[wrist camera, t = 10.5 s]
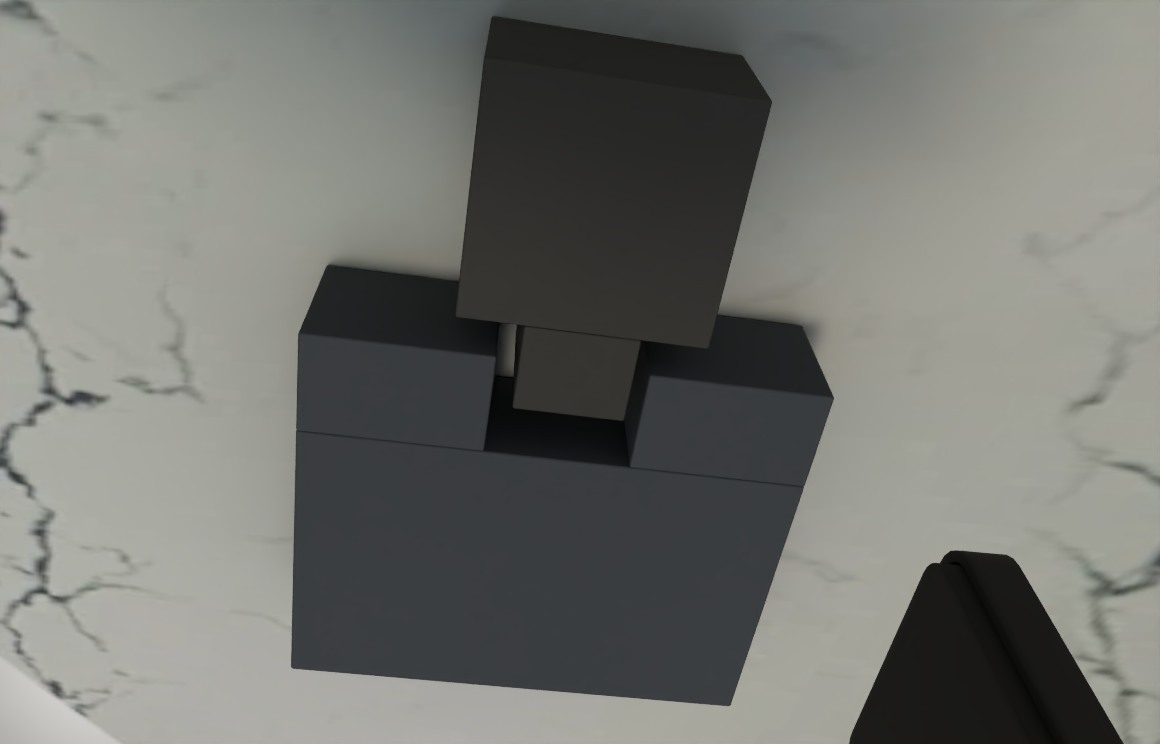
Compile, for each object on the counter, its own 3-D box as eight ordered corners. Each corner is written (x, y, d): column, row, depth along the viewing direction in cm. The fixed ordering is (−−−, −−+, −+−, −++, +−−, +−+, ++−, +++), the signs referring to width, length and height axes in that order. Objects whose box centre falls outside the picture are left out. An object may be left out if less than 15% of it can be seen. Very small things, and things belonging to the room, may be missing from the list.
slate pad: (326, 264, 29) (297, 333, 26) (802, 325, 31) (835, 398, 27) (315, 580, 35) (290, 669, 32) (713, 618, 37) (730, 707, 33)
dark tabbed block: (492, 15, 26) (483, 56, 22) (743, 55, 27) (772, 100, 23) (456, 327, 30) (445, 401, 27) (672, 354, 31) (688, 429, 28)
